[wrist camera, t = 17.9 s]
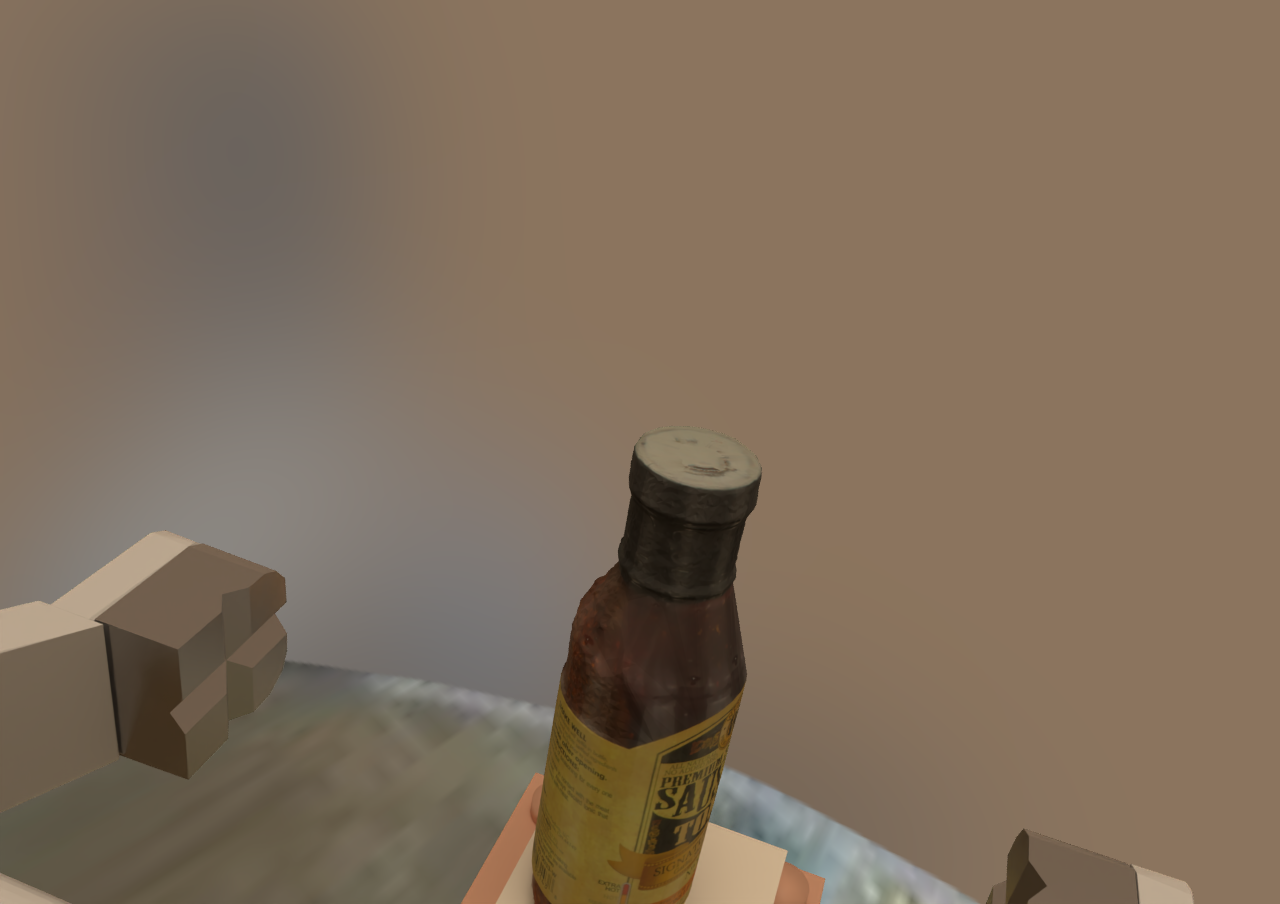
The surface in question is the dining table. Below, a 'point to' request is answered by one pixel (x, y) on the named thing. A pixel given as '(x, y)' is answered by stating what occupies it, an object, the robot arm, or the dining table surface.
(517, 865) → the brick stack
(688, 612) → the sauce bottle
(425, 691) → the dining table surface
